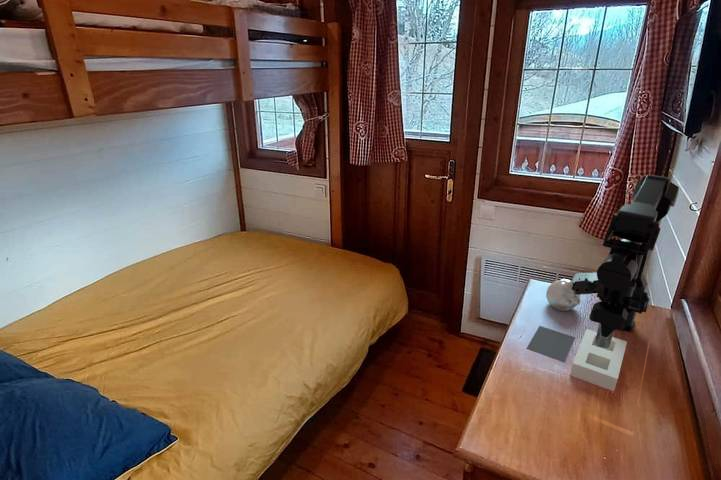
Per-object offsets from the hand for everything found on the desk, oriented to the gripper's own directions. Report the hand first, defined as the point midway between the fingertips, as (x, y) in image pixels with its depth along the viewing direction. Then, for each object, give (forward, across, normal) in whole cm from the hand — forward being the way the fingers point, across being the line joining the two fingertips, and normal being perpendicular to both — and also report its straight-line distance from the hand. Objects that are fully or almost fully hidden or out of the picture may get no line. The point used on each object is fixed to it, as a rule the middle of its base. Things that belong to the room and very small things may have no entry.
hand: (605, 332), depth 96 cm
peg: (+3, 0, 0) cm, 3 cm away
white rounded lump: (+12, -25, -13) cm, 31 cm away
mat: (+12, -6, -11) cm, 17 cm away
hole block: (+12, -4, 0) cm, 12 cm away
